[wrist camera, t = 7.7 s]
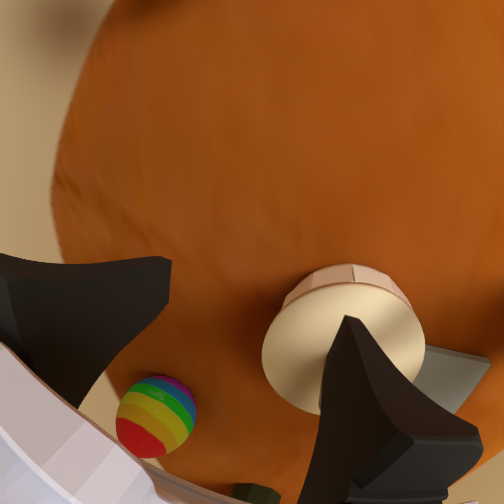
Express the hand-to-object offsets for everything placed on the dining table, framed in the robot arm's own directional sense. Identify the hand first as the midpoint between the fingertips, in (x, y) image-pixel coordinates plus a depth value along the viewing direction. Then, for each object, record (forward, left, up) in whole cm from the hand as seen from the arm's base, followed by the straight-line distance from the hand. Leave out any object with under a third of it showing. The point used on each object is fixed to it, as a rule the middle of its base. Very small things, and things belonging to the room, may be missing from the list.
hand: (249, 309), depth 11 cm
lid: (-6, +5, -6) cm, 10 cm away
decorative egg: (+8, +21, -10) cm, 25 cm away
